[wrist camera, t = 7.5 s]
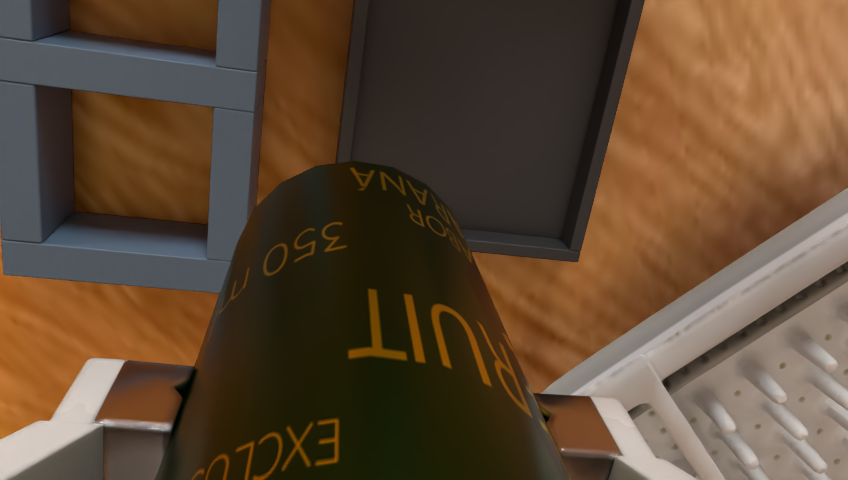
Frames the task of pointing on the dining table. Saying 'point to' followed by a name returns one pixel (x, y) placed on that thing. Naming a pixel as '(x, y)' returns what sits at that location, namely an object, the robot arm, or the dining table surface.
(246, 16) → the frame
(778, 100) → the dining table surface
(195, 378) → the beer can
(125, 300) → the dining table surface
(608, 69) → the tray
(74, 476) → the robot arm
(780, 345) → the dish rack
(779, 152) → the dining table surface
